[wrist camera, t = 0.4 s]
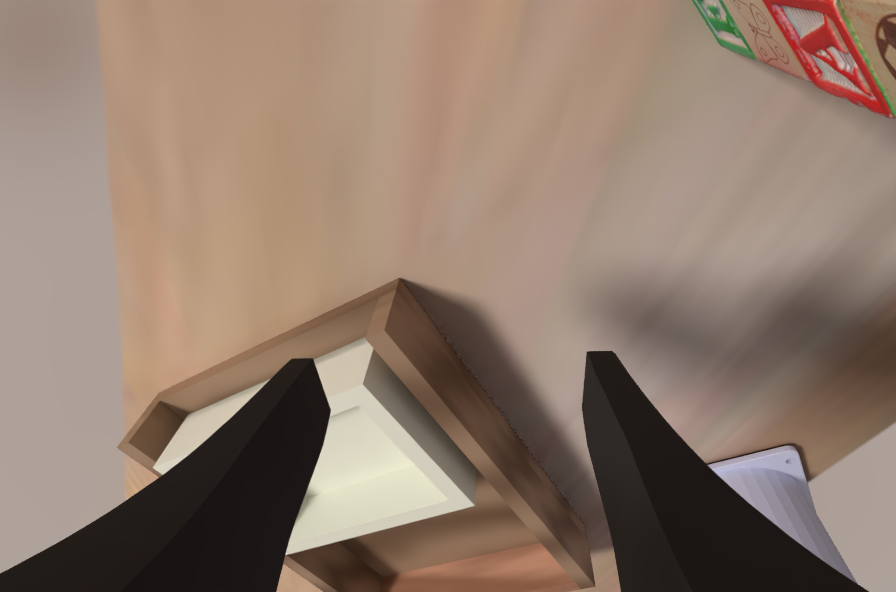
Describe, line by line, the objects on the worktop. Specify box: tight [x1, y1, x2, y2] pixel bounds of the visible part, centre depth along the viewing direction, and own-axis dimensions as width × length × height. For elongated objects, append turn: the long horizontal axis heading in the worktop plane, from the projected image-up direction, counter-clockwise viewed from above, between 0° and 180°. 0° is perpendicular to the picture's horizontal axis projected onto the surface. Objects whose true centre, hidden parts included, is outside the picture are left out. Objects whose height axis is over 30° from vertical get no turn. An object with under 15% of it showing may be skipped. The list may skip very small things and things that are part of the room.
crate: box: [153, 337, 476, 555], centre depth 27 cm, size 10×14×4 cm
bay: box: [117, 278, 595, 592], centre depth 30 cm, size 24×18×4 cm
